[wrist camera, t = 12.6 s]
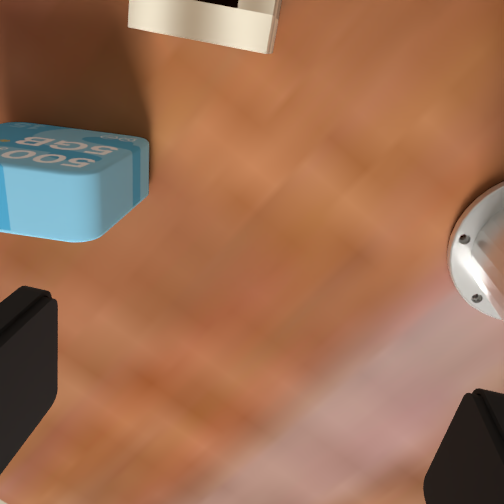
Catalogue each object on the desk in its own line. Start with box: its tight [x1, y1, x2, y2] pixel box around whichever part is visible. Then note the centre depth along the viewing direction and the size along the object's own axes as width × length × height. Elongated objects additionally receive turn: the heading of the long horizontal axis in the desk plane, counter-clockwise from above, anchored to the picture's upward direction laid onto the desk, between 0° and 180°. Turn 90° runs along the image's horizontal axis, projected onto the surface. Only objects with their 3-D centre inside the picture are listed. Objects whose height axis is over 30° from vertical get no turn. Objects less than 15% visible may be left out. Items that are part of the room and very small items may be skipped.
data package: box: [0, 122, 149, 242], centre depth 33 cm, size 12×4×12 cm, turn 84°
